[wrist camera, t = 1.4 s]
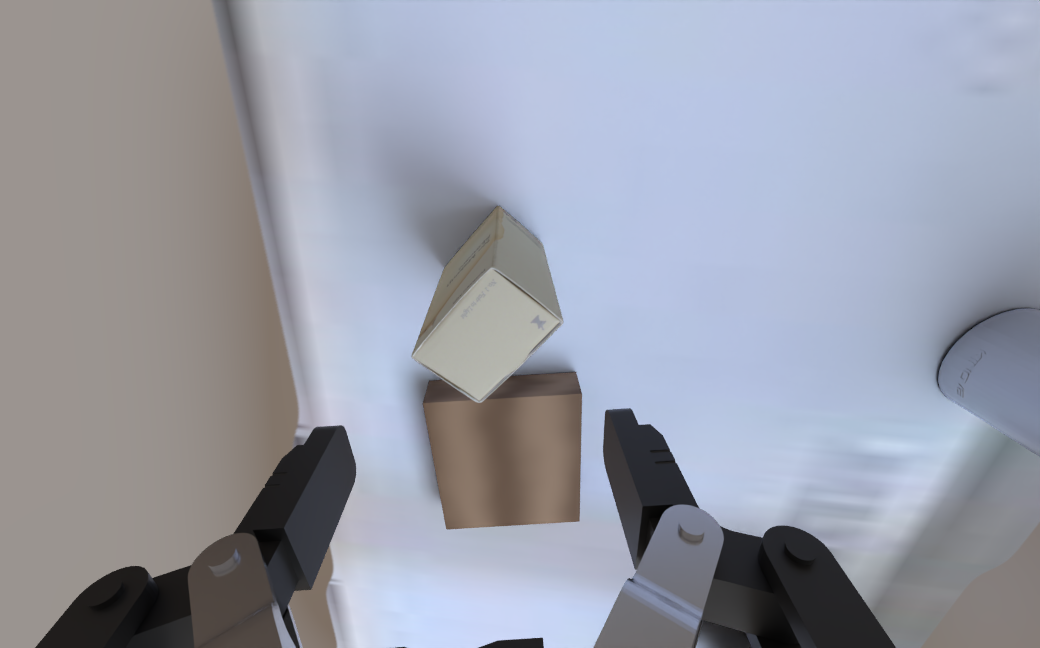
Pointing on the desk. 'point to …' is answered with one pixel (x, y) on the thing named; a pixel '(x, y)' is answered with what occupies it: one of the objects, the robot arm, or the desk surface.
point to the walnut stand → (507, 451)
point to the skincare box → (489, 308)
